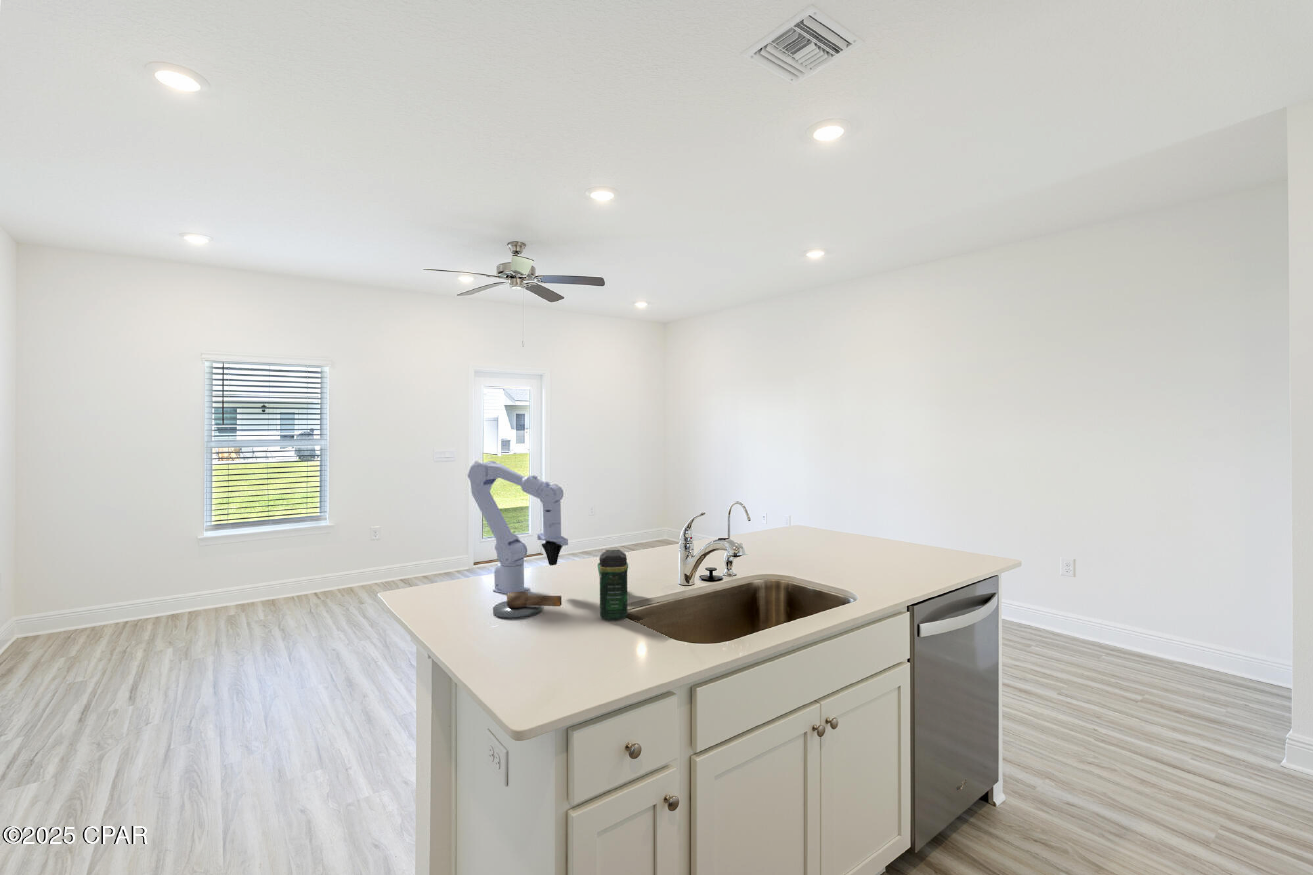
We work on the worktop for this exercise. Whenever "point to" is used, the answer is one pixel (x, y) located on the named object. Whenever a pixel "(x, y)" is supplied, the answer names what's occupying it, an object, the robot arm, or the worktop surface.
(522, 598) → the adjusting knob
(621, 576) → the coffee jar
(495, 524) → the robot arm
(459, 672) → the worktop surface
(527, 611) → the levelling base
